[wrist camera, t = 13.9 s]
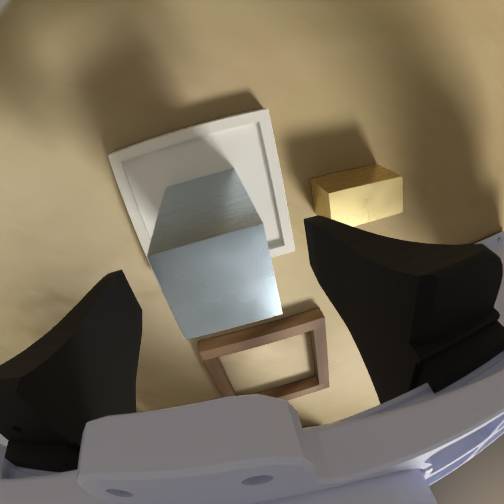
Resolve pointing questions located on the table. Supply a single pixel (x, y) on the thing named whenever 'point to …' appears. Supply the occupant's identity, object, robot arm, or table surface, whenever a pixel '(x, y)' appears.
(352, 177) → the bar
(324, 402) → the table surface
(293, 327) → the socket
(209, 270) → the brushed metal block
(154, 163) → the tray
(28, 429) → the robot arm
